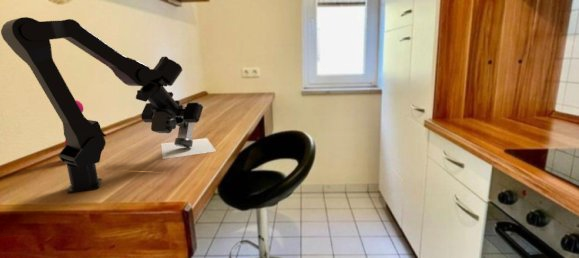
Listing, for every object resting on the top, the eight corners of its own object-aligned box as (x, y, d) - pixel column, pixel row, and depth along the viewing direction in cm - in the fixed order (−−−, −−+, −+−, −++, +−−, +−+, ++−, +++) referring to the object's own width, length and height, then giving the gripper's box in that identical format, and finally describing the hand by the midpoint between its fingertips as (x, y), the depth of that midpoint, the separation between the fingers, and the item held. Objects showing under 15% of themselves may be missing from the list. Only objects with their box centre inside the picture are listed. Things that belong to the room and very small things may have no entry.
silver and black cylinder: (186, 143, 106) (192, 110, 109) (170, 143, 107) (176, 110, 110) (195, 147, 111) (200, 116, 114) (180, 147, 112) (185, 116, 115)
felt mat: (216, 152, 106) (216, 151, 105) (162, 159, 100) (162, 158, 100) (207, 138, 124) (206, 137, 124) (161, 144, 118) (161, 143, 118)
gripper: (121, 121, 94) (150, 147, 107) (180, 121, 90) (203, 149, 103) (135, 90, 100) (162, 119, 113) (191, 88, 95) (212, 119, 108)
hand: (184, 126), depth 109 cm, fingers closed
